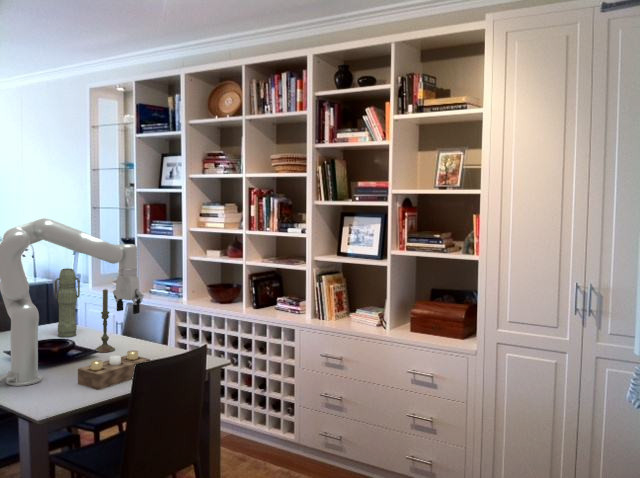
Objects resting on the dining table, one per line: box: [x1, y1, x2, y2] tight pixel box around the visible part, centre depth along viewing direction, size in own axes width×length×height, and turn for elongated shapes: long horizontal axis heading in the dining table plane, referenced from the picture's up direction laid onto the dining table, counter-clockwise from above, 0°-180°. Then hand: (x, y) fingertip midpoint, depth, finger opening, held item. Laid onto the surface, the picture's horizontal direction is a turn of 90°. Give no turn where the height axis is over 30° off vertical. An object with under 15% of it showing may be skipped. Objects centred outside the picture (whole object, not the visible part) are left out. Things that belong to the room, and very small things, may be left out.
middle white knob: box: [108, 354, 122, 366], centre depth 233 cm, size 4×4×6 cm
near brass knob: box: [90, 359, 104, 372], centre depth 225 cm, size 4×4×6 cm
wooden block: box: [77, 354, 151, 391], centre depth 233 cm, size 26×12×6 cm, turn 150°
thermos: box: [54, 267, 81, 339], centre depth 297 cm, size 9×12×35 cm
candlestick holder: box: [94, 288, 116, 354], centre depth 272 cm, size 9×9×30 cm
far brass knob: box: [126, 349, 139, 361], centre depth 240 cm, size 4×4×6 cm
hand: (128, 312), depth 248 cm, fingers open, 9 cm apart
